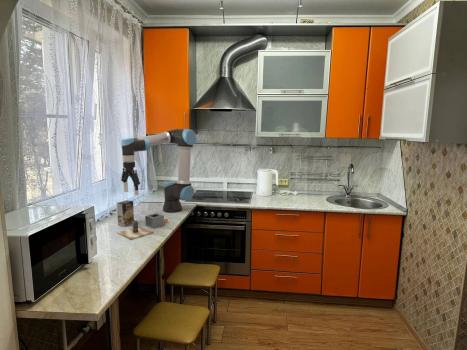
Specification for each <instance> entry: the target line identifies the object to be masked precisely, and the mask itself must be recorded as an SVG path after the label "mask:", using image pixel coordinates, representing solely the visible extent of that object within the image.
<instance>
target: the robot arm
mask: <svg viewBox="0 0 467 350" xmlns="http://www.w3.org/2000/svg"><path fill="white" fill-rule="evenodd" d="M196 142H197V133H196V132H195V131H194V130H192V129H189V128H174V129H171V130H166V131H163V132H162V133H156V134H152V135H147V136H146V135H145V136H139V137H130V136H129V137H122V138H121V145H120V146H121V154H122V156H121V158H122V167H123V168H122V173H121V179H120V181H121V182H122V185H123V193H127V192H129V183H128V180H129V178H131V180H132V183H133V194H134V195H133V196H134V197H135V196H139V195H140V193H139V186H140V185H141V182H140V179H139V175H138V171H137V169H135V168H136V162H135V161H136V156H135V152H146V151H149V150H151V148H152V146H153V147H154V146H158V145H162V144H165V145H169V144H172V145H173V144H175V145H177V148H178V150H179V151H178V172H177V173H178V176H177V177H178V178H177V180H174V181H167V182H165V183H164V184H163V191H164V192H163V193H164V196H163V197H164V201H163V202H164V203H163V207H162V212H164V213H178V212H181V211H182V210H183V207H182V204H181V201H185V202H186V201H190V200H191V199H192V198H193V196H194V195H195V188H194V187H193V186H192V182H191V181H190V175H191V174H190V173H191V152H192V151H191V150H192V149H193V148H194V145H195V144H196Z"/></svg>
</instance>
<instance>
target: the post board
mask: <svg viewBox="0 0 467 350" xmlns="http://www.w3.org/2000/svg"><path fill="white" fill-rule="evenodd" d="M151 234H154V231H153V230H151V229H148V228H146V227H143V226H142V225H141V226H140V225H139V221H138V220H134V221H133V224H132V228H129V229H126V230H125V229H124V230H122V231H118V232H117V235H120V236H122V237H124V238H126V239H128V240H130V241H132V240H135V239H139V238H143V237H146V236H149V235H151ZM142 236H143V237H142Z"/></svg>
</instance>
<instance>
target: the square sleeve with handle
mask: <svg viewBox="0 0 467 350" xmlns="http://www.w3.org/2000/svg"><path fill="white" fill-rule="evenodd" d="M144 218H145V219H144V222H145V226H146V227H148V228H151V229H153V230H154V229H157V228H160V227H164V226H165V224H167V223H169V220H168V218H165V215H163V214H161V213H158V212H155V213H151V214H148V215H145V216H144Z"/></svg>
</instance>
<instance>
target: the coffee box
mask: <svg viewBox="0 0 467 350" xmlns="http://www.w3.org/2000/svg"><path fill="white" fill-rule="evenodd" d="M134 212H135V211H134V201H133V200H124V201H123V200H122V201H120V202H116V213H117V226H119V227H128V226H132V225H133V221H135V213H134Z"/></svg>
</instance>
